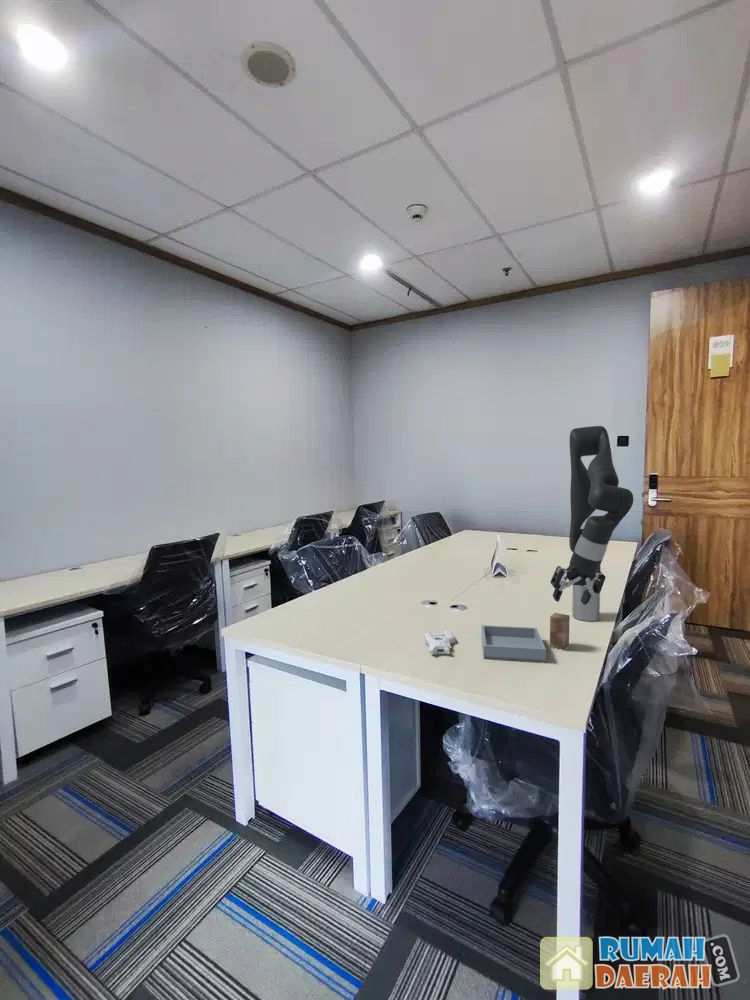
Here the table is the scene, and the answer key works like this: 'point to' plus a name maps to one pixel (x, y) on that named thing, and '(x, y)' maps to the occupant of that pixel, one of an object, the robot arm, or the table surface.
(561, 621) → the handle block
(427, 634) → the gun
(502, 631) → the box
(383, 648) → the table surface
